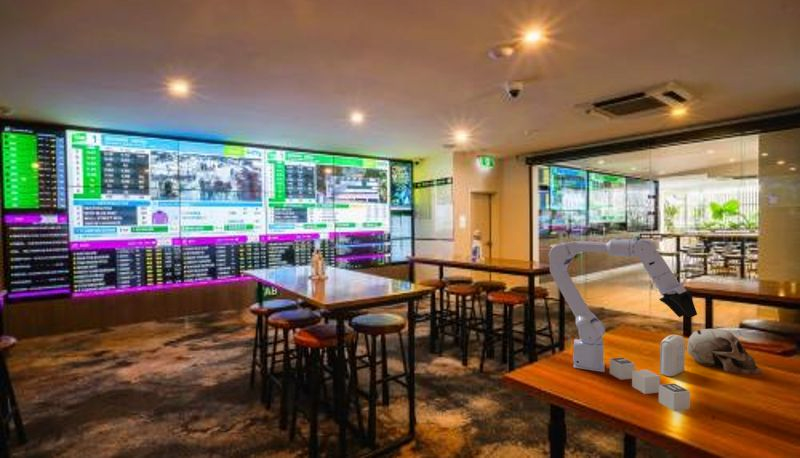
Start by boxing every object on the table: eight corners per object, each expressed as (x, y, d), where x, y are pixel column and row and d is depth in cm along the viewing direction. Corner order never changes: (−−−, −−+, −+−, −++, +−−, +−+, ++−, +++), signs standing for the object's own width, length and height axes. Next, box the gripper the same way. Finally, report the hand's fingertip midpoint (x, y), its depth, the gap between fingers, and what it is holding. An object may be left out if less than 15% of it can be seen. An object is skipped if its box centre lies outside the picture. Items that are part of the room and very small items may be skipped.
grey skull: (767, 373, 130) (763, 332, 130) (716, 380, 129) (712, 339, 129) (726, 357, 146) (722, 321, 145) (681, 363, 145) (677, 327, 145)
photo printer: (671, 366, 137) (672, 331, 136) (686, 370, 133) (687, 334, 133) (657, 373, 131) (658, 336, 130) (672, 378, 128) (673, 340, 127)
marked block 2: (658, 402, 112) (658, 383, 112) (673, 400, 113) (674, 382, 113) (673, 411, 107) (674, 391, 107) (689, 409, 108) (690, 390, 108)
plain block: (632, 386, 122) (632, 370, 122) (646, 385, 123) (646, 369, 123) (644, 394, 117) (645, 377, 117) (659, 392, 118) (659, 376, 118)
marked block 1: (609, 373, 132) (609, 357, 132) (622, 372, 133) (623, 356, 133) (620, 379, 127) (620, 363, 127) (634, 378, 128) (634, 362, 128)
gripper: (683, 266, 115) (712, 310, 111) (665, 271, 129) (690, 310, 125) (659, 277, 116) (687, 320, 113) (644, 280, 130) (668, 319, 126)
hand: (687, 315), depth 119 cm, fingers open, 7 cm apart
